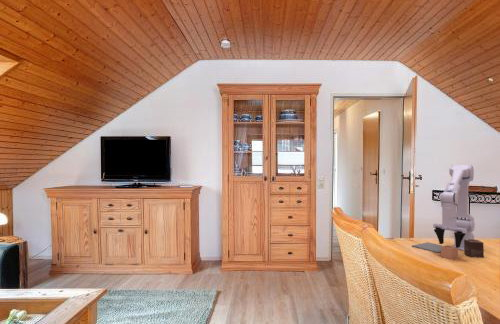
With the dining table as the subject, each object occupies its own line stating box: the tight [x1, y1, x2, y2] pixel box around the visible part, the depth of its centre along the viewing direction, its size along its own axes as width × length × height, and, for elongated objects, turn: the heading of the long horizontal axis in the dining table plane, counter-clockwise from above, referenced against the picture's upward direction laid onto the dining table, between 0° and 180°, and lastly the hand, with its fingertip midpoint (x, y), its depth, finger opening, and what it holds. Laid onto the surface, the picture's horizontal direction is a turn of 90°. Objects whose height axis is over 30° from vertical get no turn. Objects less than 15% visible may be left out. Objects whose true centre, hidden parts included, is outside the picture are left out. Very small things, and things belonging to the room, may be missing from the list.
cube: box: [440, 244, 459, 260], centre depth 151 cm, size 5×5×5 cm
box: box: [463, 239, 485, 258], centre depth 153 cm, size 6×6×7 cm
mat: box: [411, 242, 443, 254], centre depth 167 cm, size 14×14×1 cm
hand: (449, 245), depth 151 cm, fingers open, 7 cm apart
